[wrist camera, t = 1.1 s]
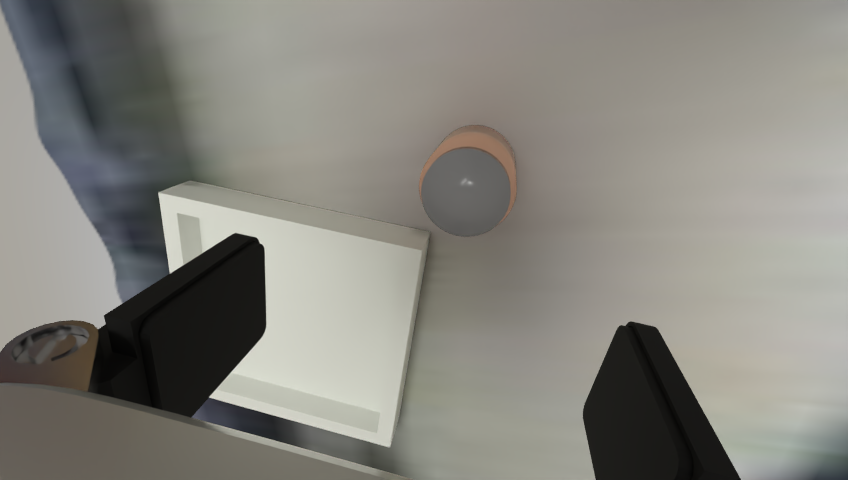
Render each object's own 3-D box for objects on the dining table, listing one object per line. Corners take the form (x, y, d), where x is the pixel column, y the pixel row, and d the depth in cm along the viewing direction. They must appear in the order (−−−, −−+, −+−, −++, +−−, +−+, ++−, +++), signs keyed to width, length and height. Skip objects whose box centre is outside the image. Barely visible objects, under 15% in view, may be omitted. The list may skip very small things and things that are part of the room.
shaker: (441, 118, 25) (422, 135, 19) (524, 133, 24) (528, 155, 19) (429, 195, 27) (409, 230, 21) (504, 211, 26) (503, 250, 21)
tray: (190, 180, 30) (158, 192, 27) (430, 231, 28) (422, 250, 25) (209, 367, 37) (186, 391, 35) (399, 417, 36) (389, 447, 33)
